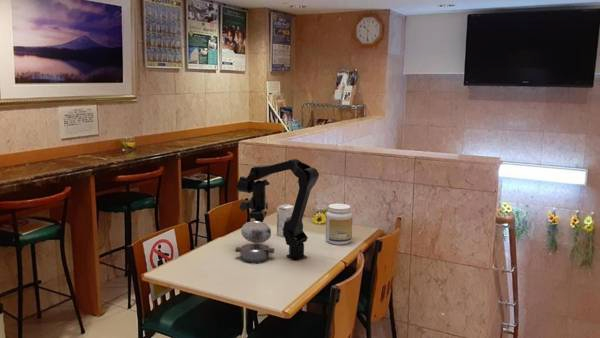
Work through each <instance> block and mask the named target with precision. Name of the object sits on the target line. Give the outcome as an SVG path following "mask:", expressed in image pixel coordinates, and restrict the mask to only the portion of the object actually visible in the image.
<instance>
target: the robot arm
mask: <svg viewBox="0 0 600 338" xmlns="http://www.w3.org/2000/svg"><path fill="white" fill-rule="evenodd" d="M289 170H290V171H291V172H292V174H293V175H294V176H295V177H296V178H297V183H298V191H297V196H296V199H295V203H294V205H293V206H294V209H293V213H292V216H291V219H290V220H288V221H285V223H284V228H283V229H282V230H283V235H284V237H283V238H284V240H285V244H286V245H287V246H288V254H286V255H285V256H286V257H287V258H289V259H291V260H293V261H298V260H301V259H306V258H308V256H307V255H305V242H307V240H308V238H309V237H308V236H307V234H306V233H305V232H304V224H303V219H304V215H305V211H306V207H307V203H308V201H309V197H310V193H311V191H312V189H313V187H314V186H315V185H316V183H317V181H318V179H319V177H320V173H319V172H318V170H317V168H315V167H312V166H310V165H309V164H306V163H305V162H302V161H301V160H299V159H297V158H293V159H289V160H286V161H282V162H279V163H275V164H271V165H270V164H263V165H262V164H261V165H258V166H253V167H251V168H250V171H249V173H248V175H247V176H243V175H242V176H240V177H239V179H238V181H237V183H236V190H237V191H238V192H240V193H245V194H251V195H252V196H251V198H250V199H248V200H243V201H241V202H240V203H239V204H238V206H239V209H240V210H241V212H245V211H246V210H249V209H250V211H249V213H248V219H254V221H260V222H263V223H264V221H265V218H266V215H267V211H265V210H269V204H268V202H267V201H266V199H267V195H266V186H269V185H270V184H271V183H270V182H269V181H268V180H267V179H266V178H268V177H270V176H271V175H273V174H276V173H280V172H285V171H289Z"/></svg>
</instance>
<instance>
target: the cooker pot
mask: <svg viewBox="0 0 600 338" xmlns="http://www.w3.org/2000/svg"><path fill="white" fill-rule="evenodd" d="M235 253H240V260H241V261H242V262H243V263H247V264H261V263H262V264H263V263H265V262H268V261H269V260H270V254H274V253H275V247H273V248H272V247H270V246H269V245H267V244H265V243H254V242H251V243H248V244H247V243H246V244H244V245H242V246H241V247H240V246H239V247H238V246H236V248H235Z"/></svg>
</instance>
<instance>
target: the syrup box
mask: <svg viewBox="0 0 600 338" xmlns="http://www.w3.org/2000/svg"><path fill="white" fill-rule="evenodd" d="M293 209H294V205H292V204H285V203H284V204H282V205H279V206H277V210H276V211H277V212H276V213H277V215H276V217H277V219H276V222H277V223H276V236H279V237H280V236H281V237H283V238H285V237H284V235H283V230H282V229H283V228H284V223H285V221H288V220H290V219H291V216H292V213H293Z"/></svg>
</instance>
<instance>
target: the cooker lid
mask: <svg viewBox="0 0 600 338" xmlns="http://www.w3.org/2000/svg"><path fill="white" fill-rule="evenodd" d="M240 231H241V235H242V237H243V239H245V240H246V241H248V242H250V243H260V244H263V243H265V242H267V241H268V240H269V239H271V236H272V229H271V228H270V226H269V225H268V224H266V223H265V222H264V221H263V222H260V221H255V220H250V221H248V222H245V223H244V224H243V225H242V227H241V230H240Z"/></svg>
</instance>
